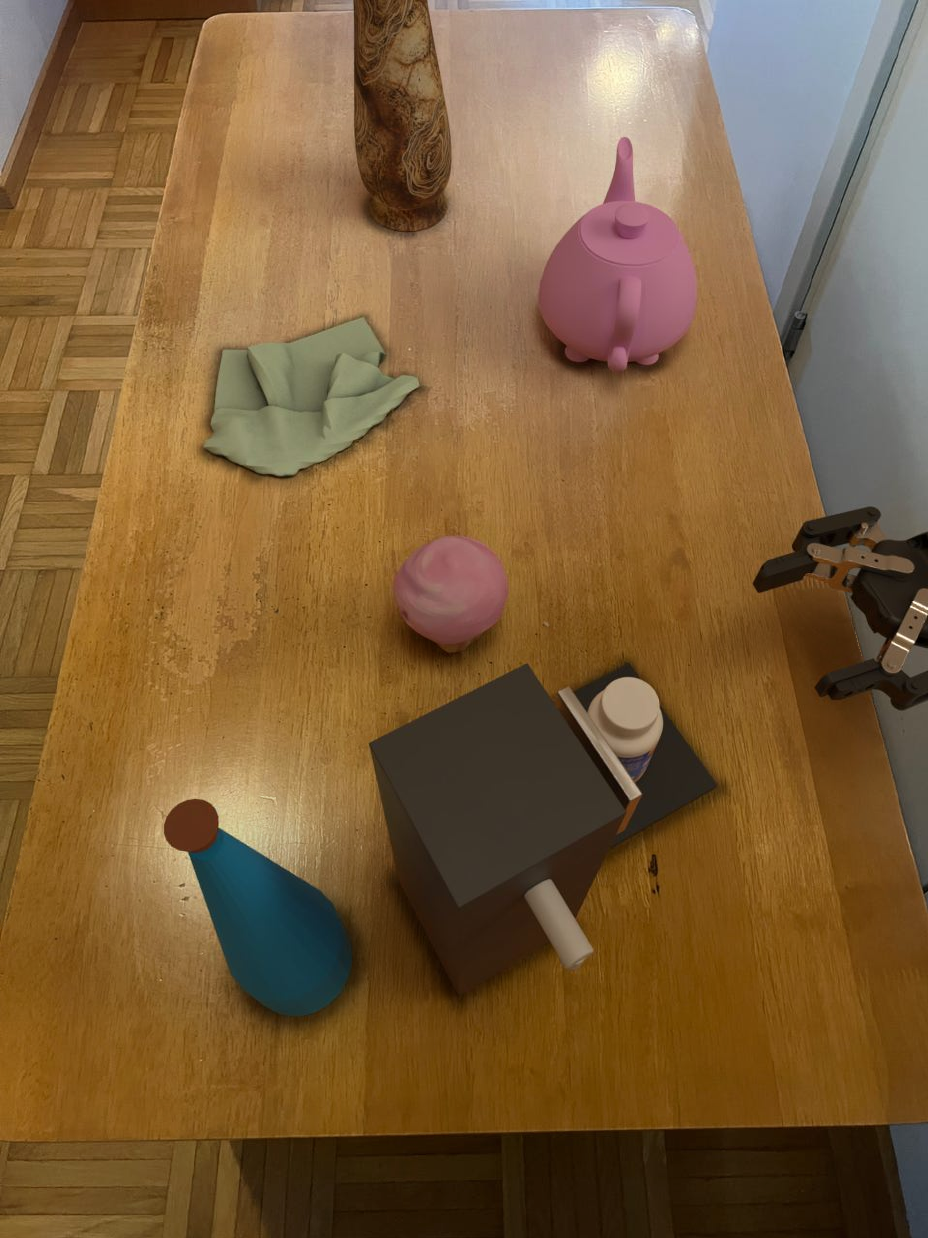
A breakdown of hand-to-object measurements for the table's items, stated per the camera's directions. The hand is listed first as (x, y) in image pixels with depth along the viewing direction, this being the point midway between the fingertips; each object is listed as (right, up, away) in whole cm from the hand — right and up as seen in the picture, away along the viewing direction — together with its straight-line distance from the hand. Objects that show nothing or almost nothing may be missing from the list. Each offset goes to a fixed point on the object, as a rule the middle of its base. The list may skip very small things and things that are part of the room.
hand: (788, 633), depth 62 cm
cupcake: (-23, 0, +16) cm, 28 cm away
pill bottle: (-10, -10, +10) cm, 17 cm away
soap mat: (-11, -10, +10) cm, 18 cm away
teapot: (-6, +32, +35) cm, 47 cm away
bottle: (-33, -23, +3) cm, 40 cm away
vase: (-28, +48, +44) cm, 71 cm away
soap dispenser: (-19, -21, +4) cm, 29 cm away
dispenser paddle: (-15, -8, -9) cm, 19 cm away
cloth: (-36, +23, +29) cm, 52 cm away
